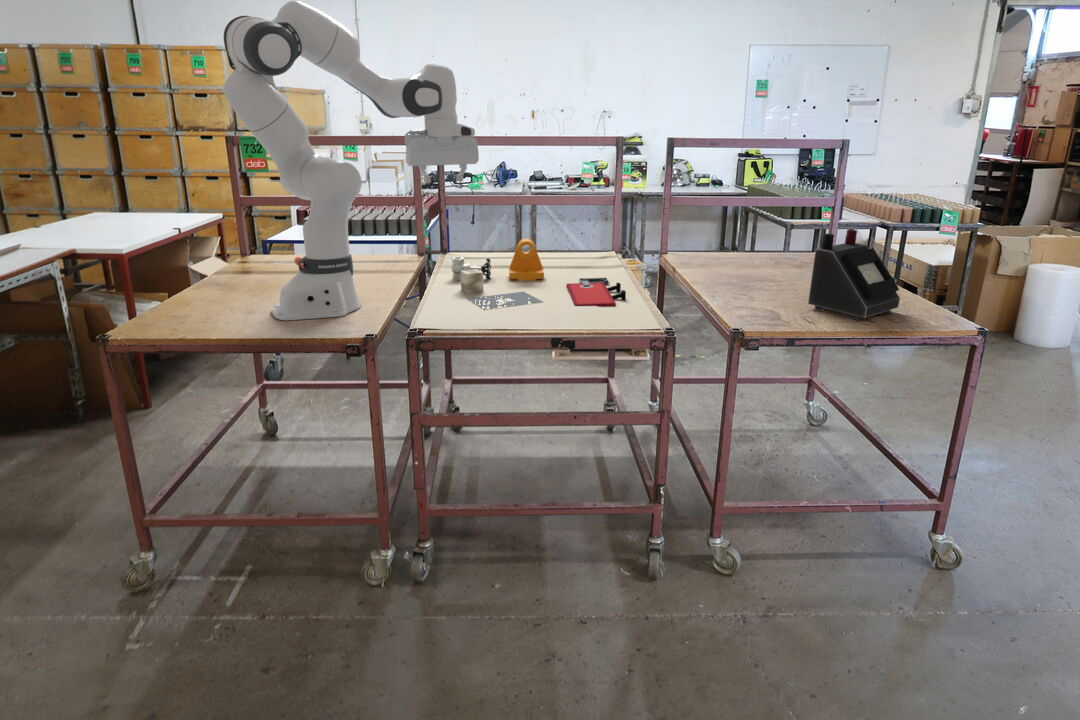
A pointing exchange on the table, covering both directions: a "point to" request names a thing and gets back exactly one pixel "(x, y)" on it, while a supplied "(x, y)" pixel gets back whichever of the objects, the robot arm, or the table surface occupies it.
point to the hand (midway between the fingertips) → (443, 182)
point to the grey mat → (519, 298)
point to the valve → (469, 267)
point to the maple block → (472, 281)
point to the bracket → (526, 263)
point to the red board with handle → (594, 292)
